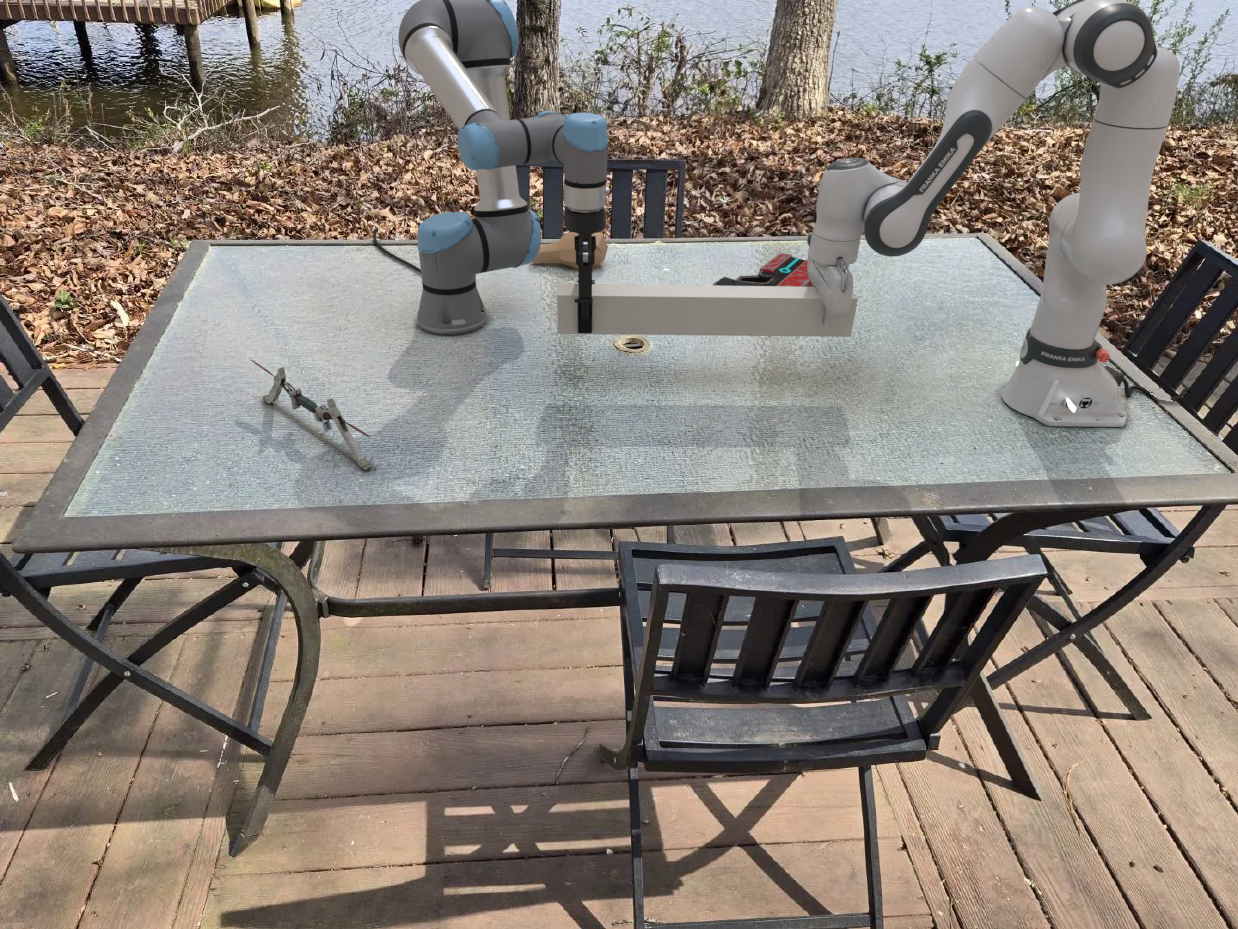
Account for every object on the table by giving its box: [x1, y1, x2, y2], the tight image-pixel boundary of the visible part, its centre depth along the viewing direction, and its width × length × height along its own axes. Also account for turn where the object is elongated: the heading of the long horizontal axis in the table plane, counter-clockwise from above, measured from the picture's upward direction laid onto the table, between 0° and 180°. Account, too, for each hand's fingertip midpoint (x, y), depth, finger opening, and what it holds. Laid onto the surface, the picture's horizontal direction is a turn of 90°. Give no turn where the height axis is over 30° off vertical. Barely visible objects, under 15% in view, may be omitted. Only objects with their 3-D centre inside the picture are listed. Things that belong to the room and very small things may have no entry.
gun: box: [712, 252, 814, 287], centre depth 215 cm, size 4×31×19 cm
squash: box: [532, 231, 609, 270], centre depth 226 cm, size 11×20×9 cm, turn 90°
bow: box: [250, 359, 373, 471], centre depth 154 cm, size 39×2×10 cm, turn 47°
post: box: [556, 283, 859, 338], centre depth 169 cm, size 57×6×8 cm, turn 92°
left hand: (584, 324), depth 170 cm, fingers closed on post, 6 cm apart
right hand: (823, 317), depth 171 cm, fingers closed on post, 5 cm apart
